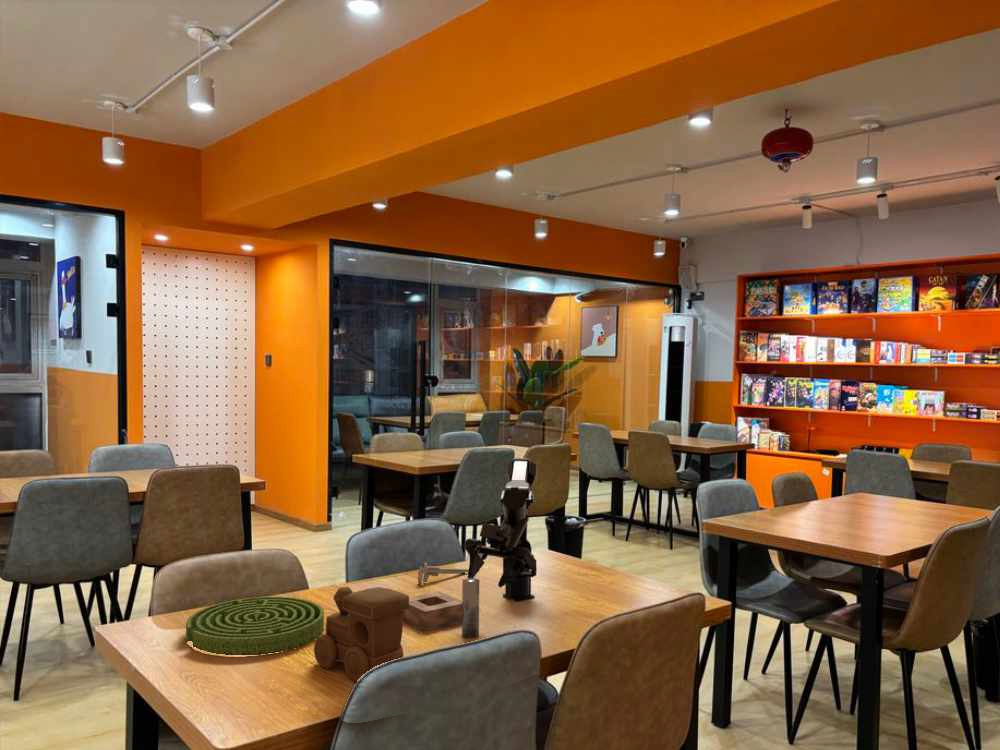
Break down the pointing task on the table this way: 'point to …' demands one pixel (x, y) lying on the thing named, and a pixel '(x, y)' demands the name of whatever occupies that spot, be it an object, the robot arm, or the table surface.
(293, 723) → the table surface
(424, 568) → the caliper
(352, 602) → the wooden toy train
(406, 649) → the table surface
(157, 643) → the table surface
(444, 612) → the socket block
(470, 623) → the steel pin
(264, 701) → the table surface
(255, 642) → the maze
